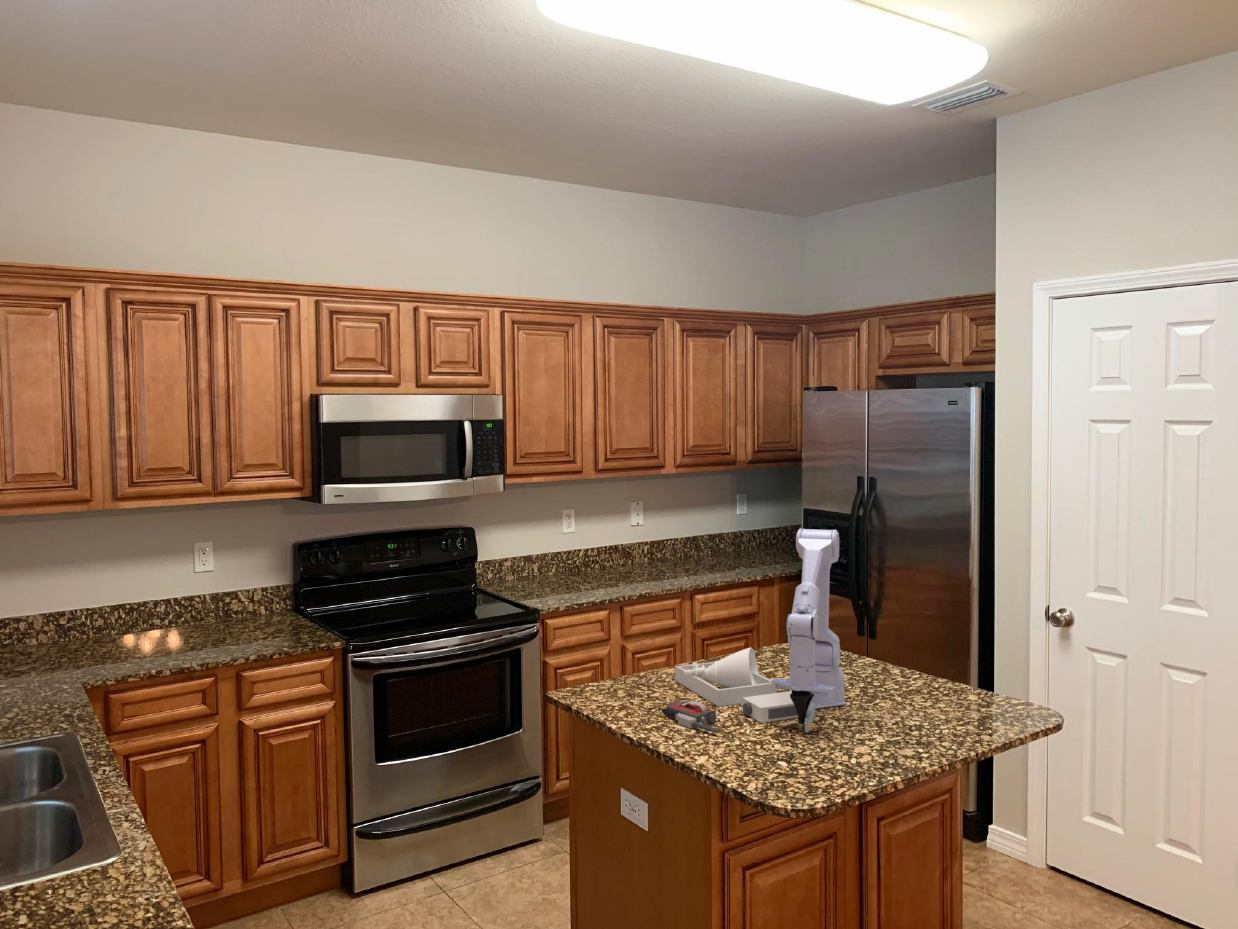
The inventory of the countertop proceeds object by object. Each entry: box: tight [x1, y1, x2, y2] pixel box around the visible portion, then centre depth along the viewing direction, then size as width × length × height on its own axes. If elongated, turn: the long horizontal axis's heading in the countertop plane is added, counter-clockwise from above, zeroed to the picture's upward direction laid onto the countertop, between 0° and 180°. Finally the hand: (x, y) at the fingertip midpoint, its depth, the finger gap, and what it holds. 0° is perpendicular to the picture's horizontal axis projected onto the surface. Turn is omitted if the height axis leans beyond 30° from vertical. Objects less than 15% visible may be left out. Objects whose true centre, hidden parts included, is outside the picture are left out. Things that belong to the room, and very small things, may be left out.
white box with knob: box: [741, 690, 812, 724], centre depth 226 cm, size 15×9×4 cm, turn 112°
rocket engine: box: [684, 647, 759, 688], centre depth 245 cm, size 12×12×18 cm
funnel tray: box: [674, 661, 778, 707], centre depth 247 cm, size 17×25×4 cm
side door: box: [804, 703, 816, 734], centre depth 217 cm, size 13×2×3 cm, turn 162°
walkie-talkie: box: [661, 699, 720, 734], centre depth 220 cm, size 9×4×20 cm
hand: (802, 723), depth 215 cm, fingers closed, pressing on side door
